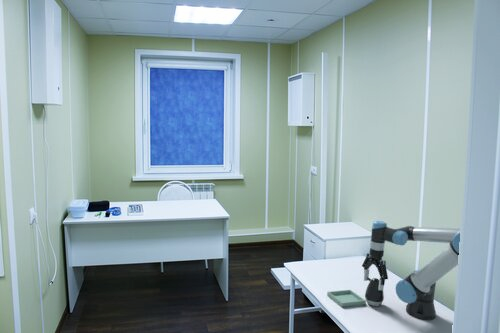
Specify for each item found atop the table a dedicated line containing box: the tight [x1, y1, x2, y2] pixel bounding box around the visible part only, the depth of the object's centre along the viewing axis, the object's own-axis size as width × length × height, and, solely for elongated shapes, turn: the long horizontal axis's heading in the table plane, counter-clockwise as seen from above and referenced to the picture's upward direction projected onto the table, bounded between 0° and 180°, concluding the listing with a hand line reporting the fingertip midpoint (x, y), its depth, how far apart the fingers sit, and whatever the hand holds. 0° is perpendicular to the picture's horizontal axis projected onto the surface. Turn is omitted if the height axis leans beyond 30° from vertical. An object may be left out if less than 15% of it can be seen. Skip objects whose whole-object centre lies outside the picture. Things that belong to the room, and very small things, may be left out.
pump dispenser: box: [364, 277, 385, 307], centre depth 229 cm, size 10×10×15 cm
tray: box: [326, 289, 367, 308], centre depth 232 cm, size 16×16×2 cm
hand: (373, 285), depth 228 cm, fingers open, 13 cm apart
